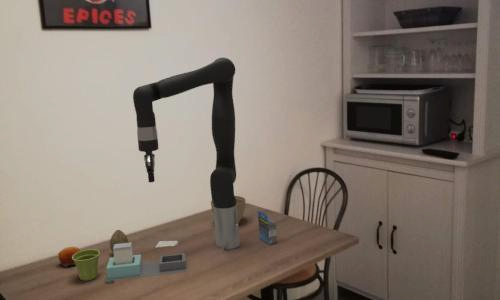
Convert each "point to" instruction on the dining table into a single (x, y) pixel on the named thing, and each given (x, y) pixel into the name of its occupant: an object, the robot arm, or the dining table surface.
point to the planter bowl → (240, 207)
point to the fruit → (67, 255)
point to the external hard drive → (166, 243)
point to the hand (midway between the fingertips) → (151, 181)
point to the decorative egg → (118, 238)
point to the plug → (123, 253)
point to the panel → (146, 267)
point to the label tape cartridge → (266, 229)
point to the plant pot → (87, 263)
